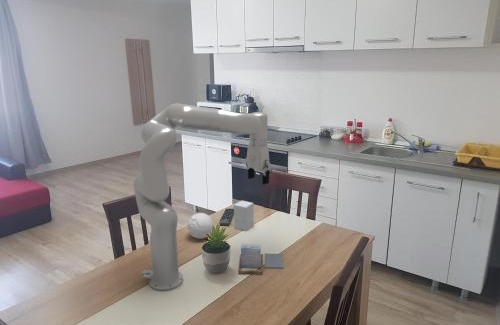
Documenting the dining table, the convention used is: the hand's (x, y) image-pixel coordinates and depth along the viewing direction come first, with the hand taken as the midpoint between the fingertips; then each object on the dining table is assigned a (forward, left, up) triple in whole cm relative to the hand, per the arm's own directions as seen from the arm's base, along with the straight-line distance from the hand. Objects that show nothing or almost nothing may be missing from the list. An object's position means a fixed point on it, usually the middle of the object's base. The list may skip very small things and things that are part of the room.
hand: (258, 181), depth 159 cm
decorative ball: (-27, +8, -31) cm, 42 cm away
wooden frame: (-3, -16, -31) cm, 35 cm away
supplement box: (-7, +20, -31) cm, 38 cm away
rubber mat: (+7, -13, -31) cm, 34 cm away
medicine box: (-3, -16, -31) cm, 35 cm away
